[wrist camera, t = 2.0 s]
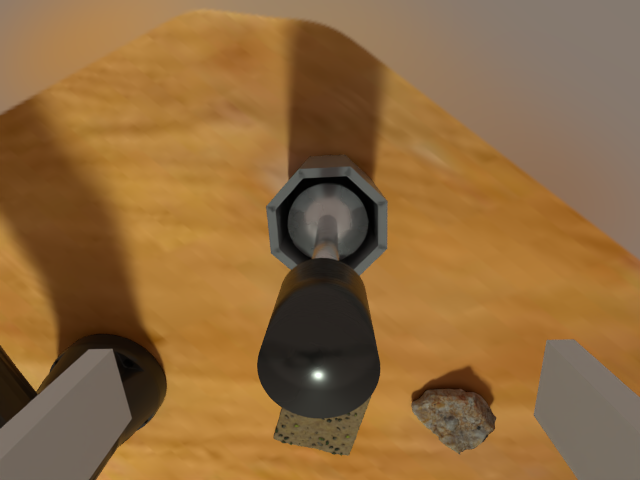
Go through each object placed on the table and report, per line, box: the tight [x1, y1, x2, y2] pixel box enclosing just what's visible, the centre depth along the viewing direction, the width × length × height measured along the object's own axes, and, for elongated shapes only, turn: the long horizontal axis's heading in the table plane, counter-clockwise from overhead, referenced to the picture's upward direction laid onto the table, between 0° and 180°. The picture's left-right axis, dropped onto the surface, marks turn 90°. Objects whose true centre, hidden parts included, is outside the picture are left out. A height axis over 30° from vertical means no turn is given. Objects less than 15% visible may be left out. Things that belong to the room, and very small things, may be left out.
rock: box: [412, 389, 496, 454], centre depth 47 cm, size 9×6×10 cm
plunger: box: [257, 183, 380, 419], centre depth 20 cm, size 7×7×19 cm
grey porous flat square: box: [274, 396, 371, 455], centre depth 50 cm, size 12×12×1 cm
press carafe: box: [266, 155, 387, 276], centre depth 34 cm, size 9×11×14 cm
